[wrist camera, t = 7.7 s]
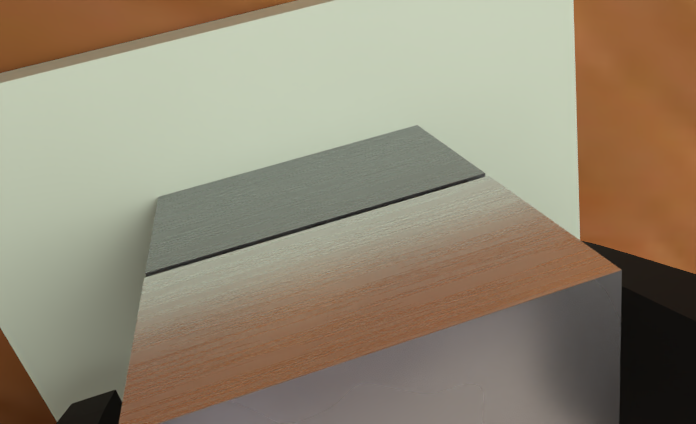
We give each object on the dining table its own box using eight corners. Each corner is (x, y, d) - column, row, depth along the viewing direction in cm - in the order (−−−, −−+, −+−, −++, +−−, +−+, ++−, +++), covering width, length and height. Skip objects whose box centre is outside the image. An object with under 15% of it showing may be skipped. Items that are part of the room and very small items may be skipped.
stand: (548, 374, 14) (584, 415, 13) (155, 514, 13) (150, 577, 12) (521, -55, 10) (571, -58, 8) (-77, 92, 9) (-129, 114, 7)
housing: (458, 398, 12) (615, 654, 7) (262, 467, 11) (304, 789, 7) (417, 125, 9) (622, 270, 5) (158, 196, 8) (116, 437, 4)
